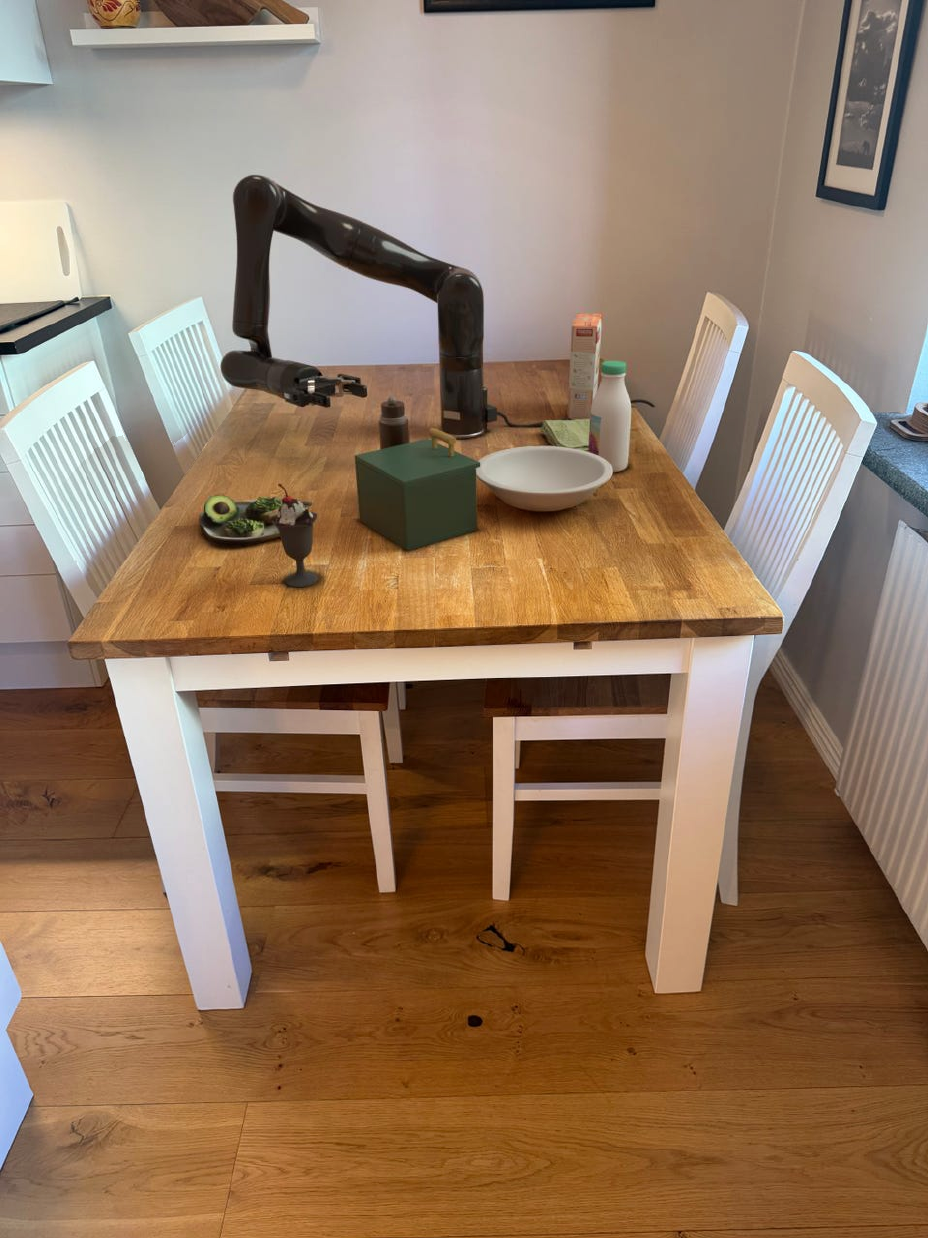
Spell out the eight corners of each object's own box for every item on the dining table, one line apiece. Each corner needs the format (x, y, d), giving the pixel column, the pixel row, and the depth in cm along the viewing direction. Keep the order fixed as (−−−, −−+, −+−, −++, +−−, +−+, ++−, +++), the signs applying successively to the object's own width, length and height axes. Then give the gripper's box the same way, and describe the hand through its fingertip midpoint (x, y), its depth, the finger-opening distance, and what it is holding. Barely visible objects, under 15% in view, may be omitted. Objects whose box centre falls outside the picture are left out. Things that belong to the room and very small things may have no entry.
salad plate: (300, 496, 168) (298, 472, 166) (330, 532, 154) (327, 506, 151) (193, 515, 161) (188, 490, 159) (213, 554, 147) (209, 527, 144)
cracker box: (593, 422, 204) (598, 325, 194) (566, 421, 205) (569, 324, 195) (598, 404, 216) (603, 312, 206) (572, 403, 217) (576, 311, 207)
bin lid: (427, 442, 160) (426, 418, 158) (480, 467, 148) (480, 441, 146) (354, 459, 152) (352, 435, 150) (404, 486, 141) (402, 460, 139)
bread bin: (426, 502, 164) (423, 443, 159) (477, 530, 153) (476, 468, 148) (359, 520, 158) (354, 460, 152) (407, 551, 146) (404, 486, 141)
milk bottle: (630, 462, 181) (638, 359, 171) (623, 475, 175) (631, 369, 165) (592, 458, 183) (597, 356, 174) (583, 471, 177) (588, 366, 167)
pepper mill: (402, 488, 171) (397, 390, 162) (417, 497, 167) (412, 396, 158) (378, 495, 168) (371, 395, 159) (392, 503, 164) (386, 402, 155)
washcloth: (560, 459, 183) (560, 443, 182) (538, 432, 198) (538, 418, 197) (623, 454, 185) (624, 439, 183) (596, 428, 200) (597, 414, 199)
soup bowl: (607, 534, 151) (609, 496, 148) (463, 525, 155) (462, 488, 152) (613, 482, 171) (615, 448, 168) (486, 476, 175) (486, 442, 172)
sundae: (280, 571, 141) (268, 478, 133) (325, 569, 141) (315, 476, 134) (276, 591, 135) (264, 495, 128) (322, 588, 135) (312, 492, 128)
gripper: (261, 369, 172) (313, 384, 161) (322, 355, 180) (376, 368, 170) (266, 409, 175) (318, 425, 165) (326, 393, 184) (378, 408, 174)
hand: (347, 396), depth 168 cm, fingers open, 8 cm apart
